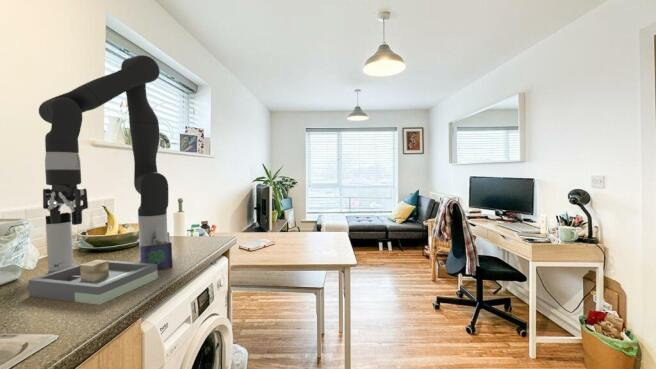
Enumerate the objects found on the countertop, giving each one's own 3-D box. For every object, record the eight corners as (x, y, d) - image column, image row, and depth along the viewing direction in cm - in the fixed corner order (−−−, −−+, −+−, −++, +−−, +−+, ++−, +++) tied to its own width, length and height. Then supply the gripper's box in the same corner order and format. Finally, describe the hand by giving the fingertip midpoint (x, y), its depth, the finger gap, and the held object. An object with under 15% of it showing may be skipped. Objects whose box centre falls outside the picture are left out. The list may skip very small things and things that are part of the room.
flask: (140, 273, 93) (139, 241, 93) (141, 270, 96) (140, 239, 95) (172, 268, 98) (171, 237, 98) (172, 265, 100) (171, 236, 100)
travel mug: (59, 275, 92) (55, 214, 91) (43, 273, 94) (39, 213, 93) (79, 268, 98) (76, 211, 98) (64, 267, 100) (61, 211, 99)
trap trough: (97, 272, 94) (96, 259, 94) (157, 278, 88) (157, 264, 88) (29, 296, 76) (28, 279, 76) (99, 304, 71) (98, 287, 71)
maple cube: (96, 274, 85) (96, 259, 85) (108, 275, 84) (108, 260, 84) (80, 280, 81) (80, 264, 81) (93, 281, 80) (92, 265, 80)
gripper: (95, 168, 84) (98, 222, 84) (60, 169, 87) (63, 221, 88) (66, 167, 76) (69, 227, 77) (30, 168, 80) (33, 225, 81)
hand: (66, 224), depth 83 cm, fingers open, 8 cm apart
